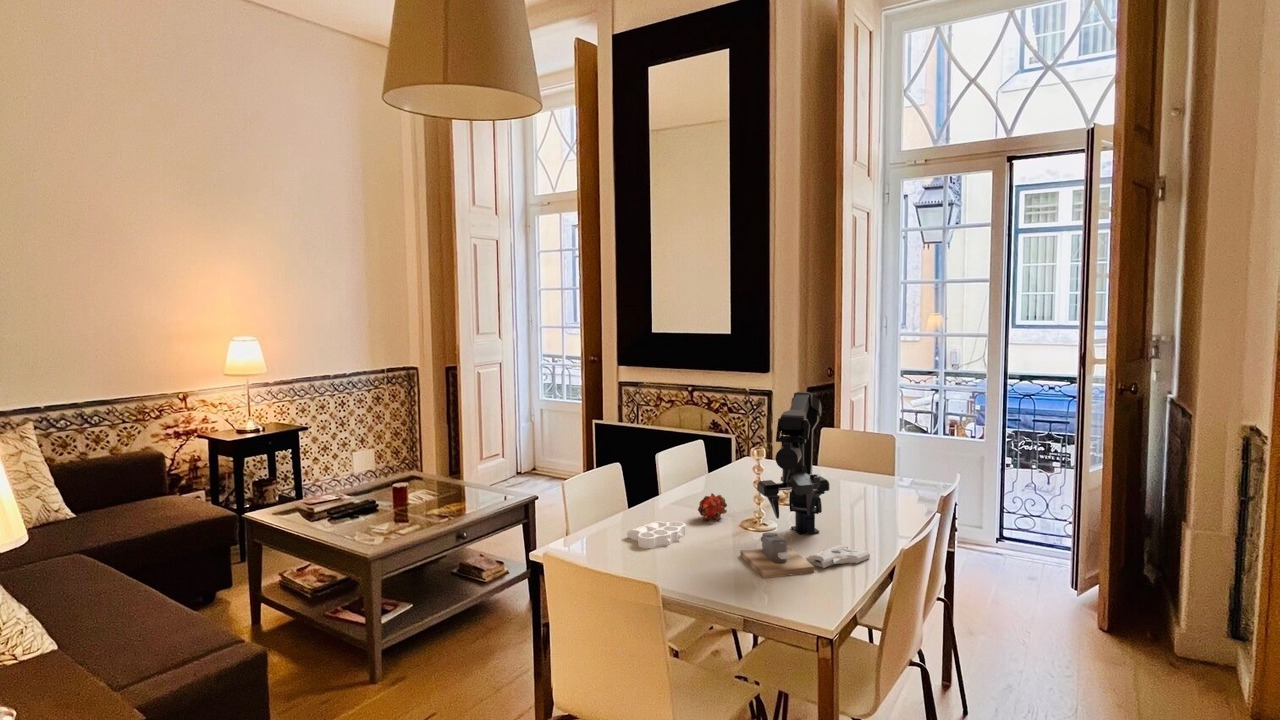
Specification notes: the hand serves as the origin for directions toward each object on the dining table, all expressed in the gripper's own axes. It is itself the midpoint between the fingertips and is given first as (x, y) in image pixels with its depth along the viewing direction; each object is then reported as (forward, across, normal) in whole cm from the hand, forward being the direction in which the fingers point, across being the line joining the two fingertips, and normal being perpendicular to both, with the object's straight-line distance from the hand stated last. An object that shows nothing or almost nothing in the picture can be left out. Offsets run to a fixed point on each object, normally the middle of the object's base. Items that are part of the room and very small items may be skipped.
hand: (793, 516), depth 190 cm
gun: (+12, +10, -7) cm, 17 cm away
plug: (+9, -7, -4) cm, 12 cm away
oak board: (+11, -7, -4) cm, 14 cm away
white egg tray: (+12, -32, +23) cm, 41 cm away
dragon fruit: (+12, -12, +36) cm, 40 cm away
